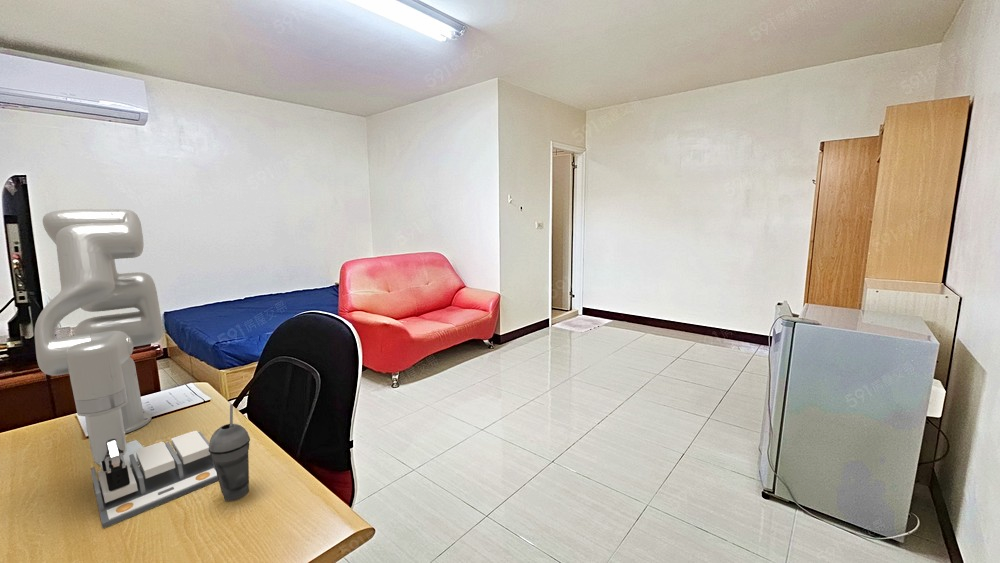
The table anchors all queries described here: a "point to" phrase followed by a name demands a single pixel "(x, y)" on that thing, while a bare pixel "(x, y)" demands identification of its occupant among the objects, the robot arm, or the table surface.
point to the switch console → (156, 487)
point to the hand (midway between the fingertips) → (116, 477)
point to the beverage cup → (231, 459)
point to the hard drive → (130, 451)
